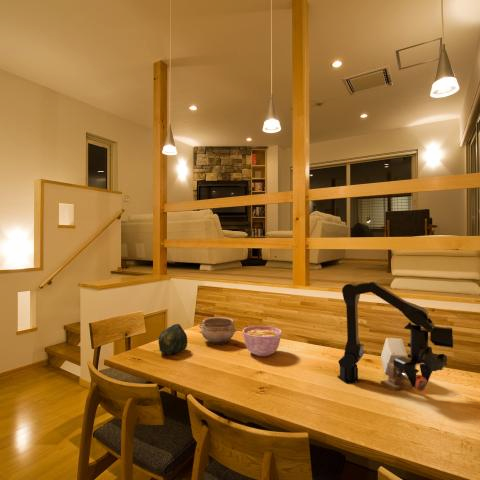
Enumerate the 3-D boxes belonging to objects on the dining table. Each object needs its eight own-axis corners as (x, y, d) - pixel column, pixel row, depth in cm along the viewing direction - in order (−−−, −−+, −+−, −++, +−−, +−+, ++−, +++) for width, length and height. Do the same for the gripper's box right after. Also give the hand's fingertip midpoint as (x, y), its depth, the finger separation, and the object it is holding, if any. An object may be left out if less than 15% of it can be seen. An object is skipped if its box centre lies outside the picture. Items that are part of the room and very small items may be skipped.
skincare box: (400, 375, 130) (408, 357, 119) (383, 374, 131) (390, 356, 121) (395, 356, 136) (402, 337, 126) (379, 355, 137) (385, 337, 127)
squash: (147, 343, 153) (164, 322, 150) (165, 336, 167) (181, 317, 163) (164, 365, 148) (182, 344, 145) (181, 356, 162) (198, 337, 159)
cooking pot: (244, 340, 175) (244, 319, 176) (231, 350, 158) (231, 327, 158) (206, 335, 185) (207, 315, 185) (190, 344, 168) (190, 322, 168)
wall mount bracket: (392, 390, 116) (392, 368, 116) (380, 383, 122) (380, 362, 122) (412, 386, 119) (412, 365, 119) (400, 380, 125) (400, 359, 125)
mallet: (417, 392, 108) (417, 378, 108) (383, 374, 124) (383, 361, 124) (428, 390, 110) (428, 376, 110) (393, 372, 125) (393, 360, 125)
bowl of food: (288, 351, 157) (288, 329, 157) (270, 364, 140) (270, 339, 140) (254, 344, 168) (254, 323, 168) (234, 355, 151) (234, 332, 151)
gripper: (419, 352, 100) (419, 400, 100) (459, 347, 106) (459, 391, 106) (392, 342, 111) (392, 385, 110) (430, 337, 117) (430, 378, 116)
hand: (419, 385), depth 110 cm, fingers closed on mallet, 5 cm apart
